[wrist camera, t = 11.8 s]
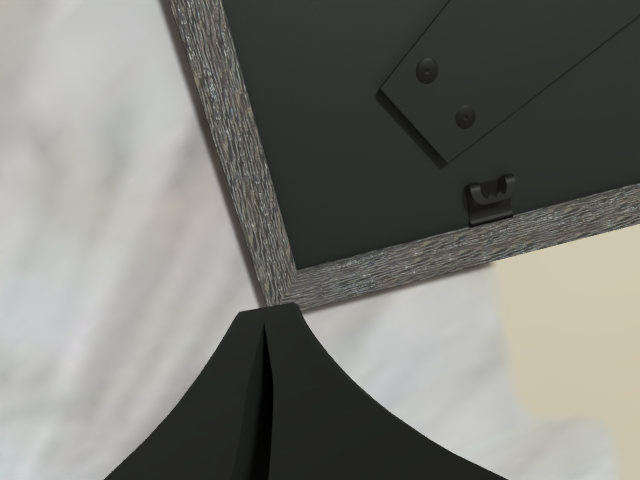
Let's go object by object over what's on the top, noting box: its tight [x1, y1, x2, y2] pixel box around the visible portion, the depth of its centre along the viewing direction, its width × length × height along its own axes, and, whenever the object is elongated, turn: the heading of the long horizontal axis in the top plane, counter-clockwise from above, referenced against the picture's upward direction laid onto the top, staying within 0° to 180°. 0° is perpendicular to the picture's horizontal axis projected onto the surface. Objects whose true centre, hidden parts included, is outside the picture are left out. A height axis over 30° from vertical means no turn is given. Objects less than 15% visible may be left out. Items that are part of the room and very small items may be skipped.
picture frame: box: [169, 0, 640, 311], centre depth 18 cm, size 16×2×21 cm
